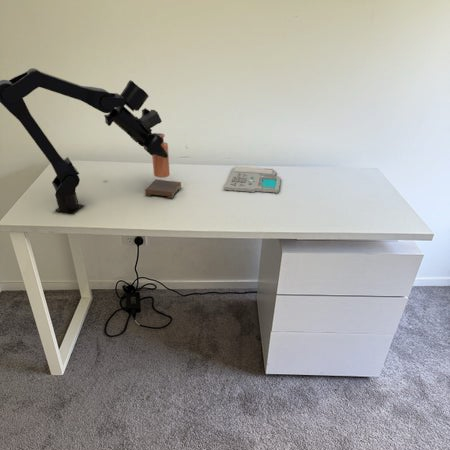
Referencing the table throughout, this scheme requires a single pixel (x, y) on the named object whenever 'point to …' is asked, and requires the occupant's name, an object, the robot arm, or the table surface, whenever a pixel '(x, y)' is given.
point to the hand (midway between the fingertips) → (164, 154)
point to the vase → (161, 161)
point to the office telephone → (253, 180)
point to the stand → (163, 188)
